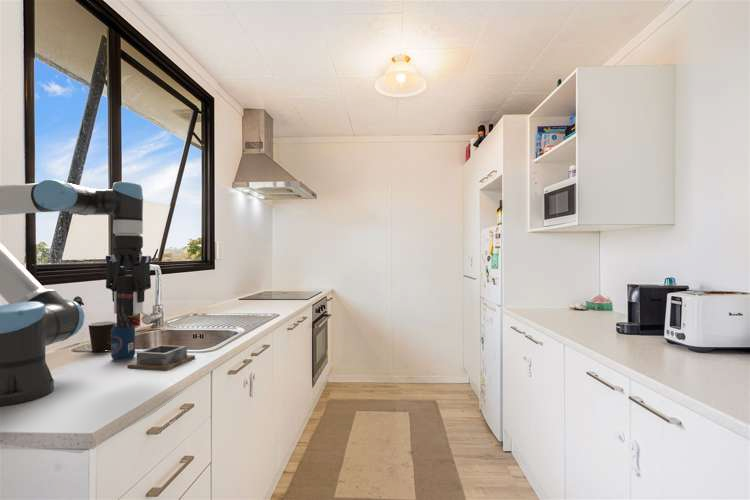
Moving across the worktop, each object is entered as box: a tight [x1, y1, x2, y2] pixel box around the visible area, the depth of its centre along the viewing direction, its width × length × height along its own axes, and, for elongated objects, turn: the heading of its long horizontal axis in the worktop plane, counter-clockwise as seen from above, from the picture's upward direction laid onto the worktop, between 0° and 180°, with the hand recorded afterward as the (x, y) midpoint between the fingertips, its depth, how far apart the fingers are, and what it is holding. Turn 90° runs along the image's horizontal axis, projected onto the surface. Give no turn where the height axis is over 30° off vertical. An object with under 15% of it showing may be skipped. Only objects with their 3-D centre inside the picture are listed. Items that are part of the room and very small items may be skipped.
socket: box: [127, 344, 196, 371], centre depth 132 cm, size 14×14×4 cm
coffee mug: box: [87, 320, 117, 353], centre depth 150 cm, size 12×9×10 cm
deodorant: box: [116, 274, 141, 328], centre depth 118 cm, size 6×6×15 cm
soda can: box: [110, 323, 136, 362], centre depth 137 cm, size 7×7×12 cm
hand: (128, 313), depth 118 cm, fingers closed on deodorant, 6 cm apart
